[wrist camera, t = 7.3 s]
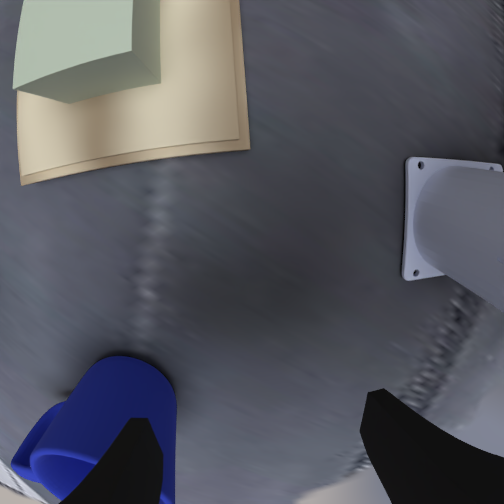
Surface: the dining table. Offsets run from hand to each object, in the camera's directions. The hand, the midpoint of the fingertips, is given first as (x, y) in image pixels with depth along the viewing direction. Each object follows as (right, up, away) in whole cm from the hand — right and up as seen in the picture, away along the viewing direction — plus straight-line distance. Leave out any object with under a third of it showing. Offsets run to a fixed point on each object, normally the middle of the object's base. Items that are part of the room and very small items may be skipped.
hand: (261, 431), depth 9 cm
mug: (-11, -4, +12) cm, 17 cm away
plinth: (-7, +17, +5) cm, 19 cm away
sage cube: (-7, +16, +3) cm, 18 cm away
